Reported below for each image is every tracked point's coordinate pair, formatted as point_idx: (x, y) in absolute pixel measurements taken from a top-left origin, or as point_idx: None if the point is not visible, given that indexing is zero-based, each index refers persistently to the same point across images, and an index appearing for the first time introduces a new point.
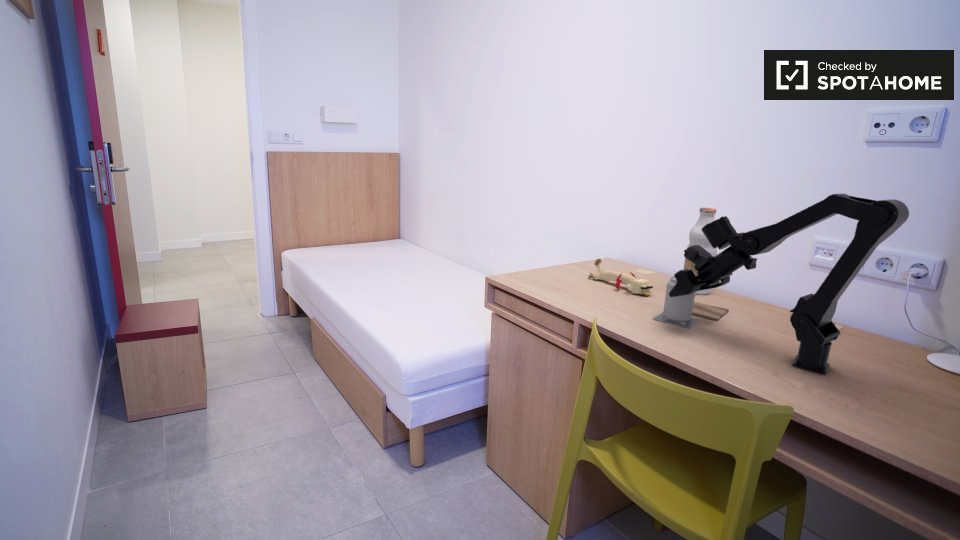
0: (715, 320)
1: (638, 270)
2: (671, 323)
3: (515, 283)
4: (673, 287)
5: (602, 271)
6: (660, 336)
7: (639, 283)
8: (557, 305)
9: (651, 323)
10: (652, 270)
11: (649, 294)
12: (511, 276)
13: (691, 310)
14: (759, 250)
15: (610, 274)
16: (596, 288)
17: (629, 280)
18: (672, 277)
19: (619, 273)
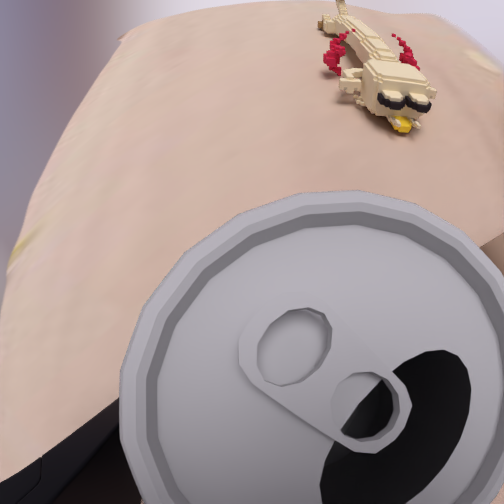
0: None
1: (471, 52)
2: None
3: (139, 38)
4: (51, 450)
5: (340, 16)
6: None
7: (376, 78)
8: (66, 131)
9: None
10: (498, 66)
11: (407, 130)
12: (171, 18)
13: (326, 484)
14: None
15: (345, 26)
16: (281, 57)
17: (368, 56)
18: (277, 228)
19: (363, 29)
